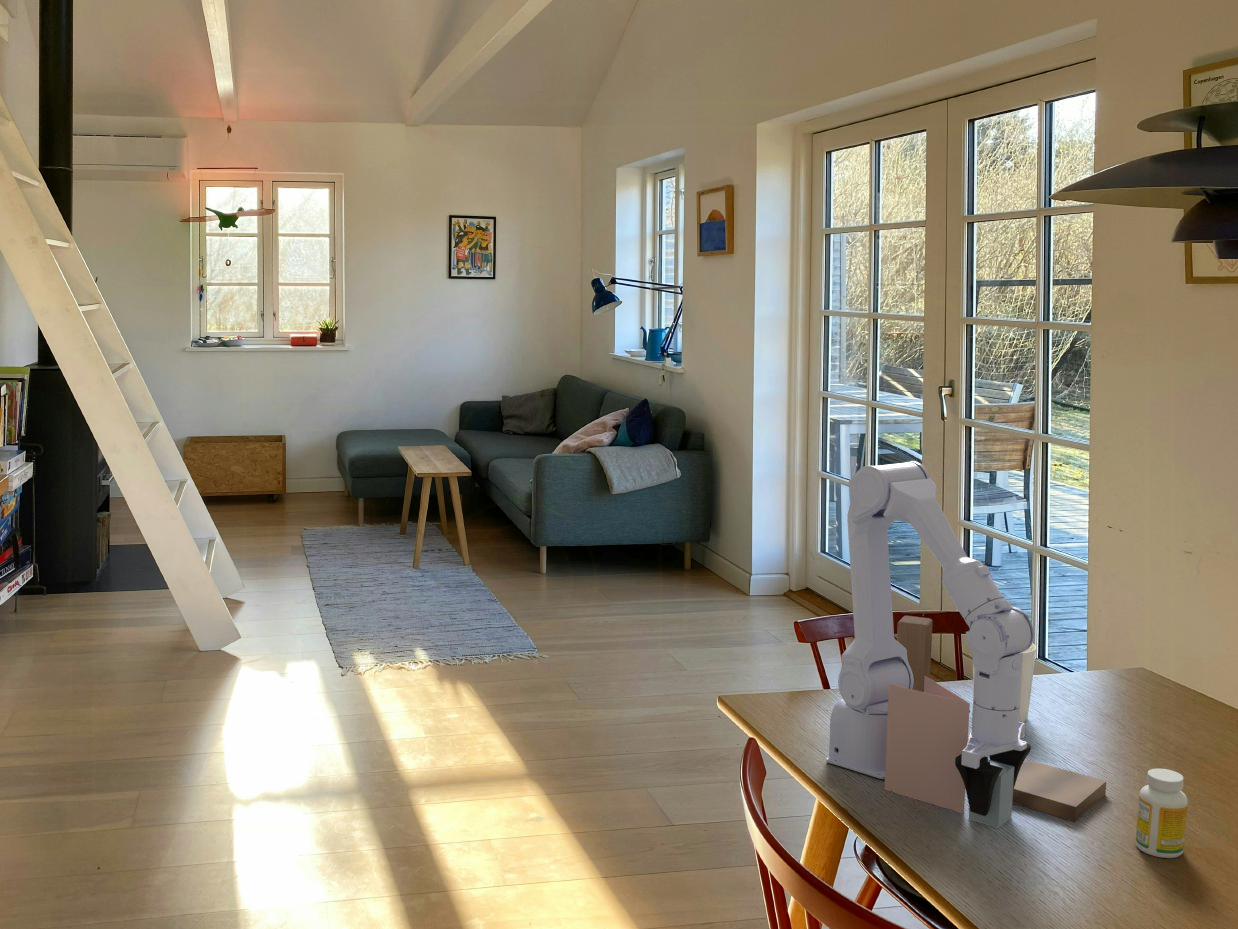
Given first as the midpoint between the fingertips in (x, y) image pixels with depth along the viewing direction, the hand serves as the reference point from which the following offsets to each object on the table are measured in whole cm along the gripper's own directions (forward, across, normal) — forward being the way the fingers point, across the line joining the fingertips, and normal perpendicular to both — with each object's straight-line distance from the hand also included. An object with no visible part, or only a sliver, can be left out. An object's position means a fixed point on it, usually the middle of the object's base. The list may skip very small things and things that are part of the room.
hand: (990, 804), depth 150 cm
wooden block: (+2, +21, +20) cm, 29 cm away
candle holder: (+2, +37, +15) cm, 40 cm away
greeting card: (+2, 0, +10) cm, 10 cm away
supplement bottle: (+2, +6, -19) cm, 20 cm away
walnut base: (+2, +12, -3) cm, 13 cm away
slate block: (+2, 0, 0) cm, 2 cm away
